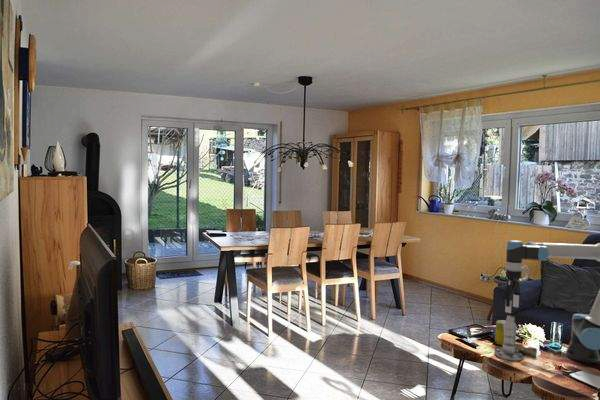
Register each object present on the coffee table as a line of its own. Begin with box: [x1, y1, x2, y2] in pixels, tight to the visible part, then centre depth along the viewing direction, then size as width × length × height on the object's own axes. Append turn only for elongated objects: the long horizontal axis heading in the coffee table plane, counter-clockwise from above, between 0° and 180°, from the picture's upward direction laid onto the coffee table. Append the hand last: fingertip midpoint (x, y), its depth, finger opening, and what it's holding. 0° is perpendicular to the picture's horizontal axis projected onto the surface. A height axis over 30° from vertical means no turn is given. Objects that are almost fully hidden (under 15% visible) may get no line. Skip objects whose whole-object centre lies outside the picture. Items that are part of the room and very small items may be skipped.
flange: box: [493, 348, 524, 362], centre depth 249 cm, size 14×14×2 cm
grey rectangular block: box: [515, 343, 538, 358], centre depth 252 cm, size 10×4×4 cm, turn 50°
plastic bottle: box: [501, 315, 518, 354], centre depth 248 cm, size 6×7×20 cm
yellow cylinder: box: [494, 319, 507, 347], centre depth 268 cm, size 9×9×12 cm
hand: (511, 309), depth 247 cm, fingers open, 13 cm apart
